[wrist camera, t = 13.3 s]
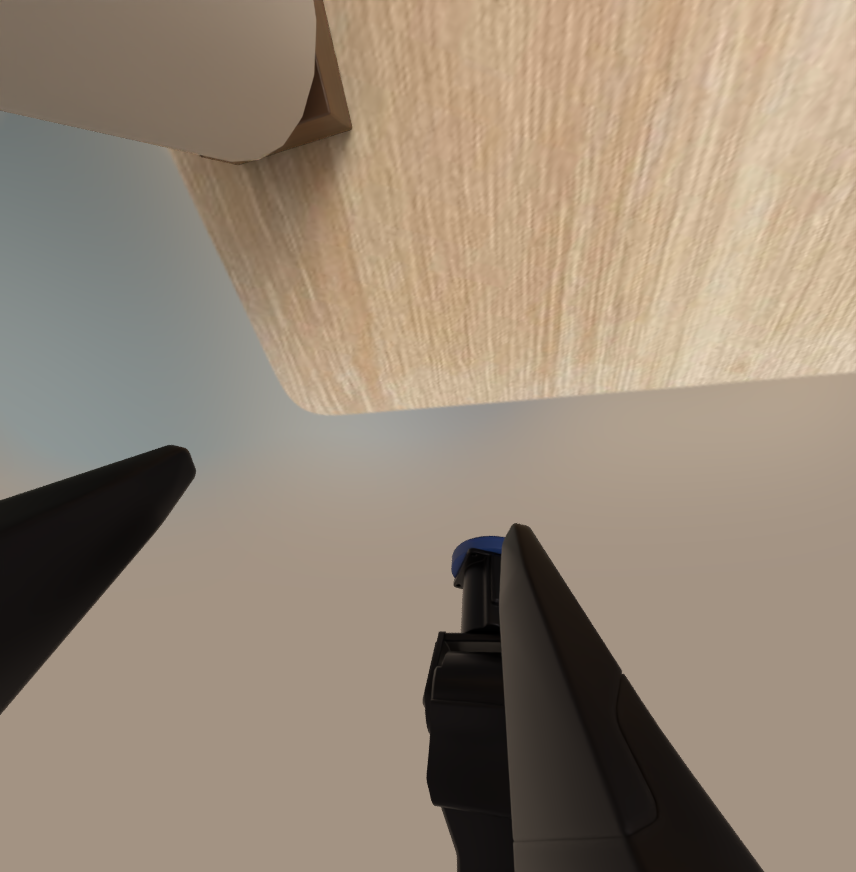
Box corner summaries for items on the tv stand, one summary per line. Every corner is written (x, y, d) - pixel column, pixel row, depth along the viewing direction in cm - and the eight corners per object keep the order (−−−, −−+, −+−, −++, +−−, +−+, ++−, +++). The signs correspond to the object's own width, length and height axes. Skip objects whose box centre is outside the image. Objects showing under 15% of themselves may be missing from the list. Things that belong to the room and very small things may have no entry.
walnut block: (353, 129, 13) (330, 113, 11) (237, 165, 15) (199, 157, 13) (295, -120, 10) (249, -204, 8) (152, -45, 11) (82, -102, 9)
